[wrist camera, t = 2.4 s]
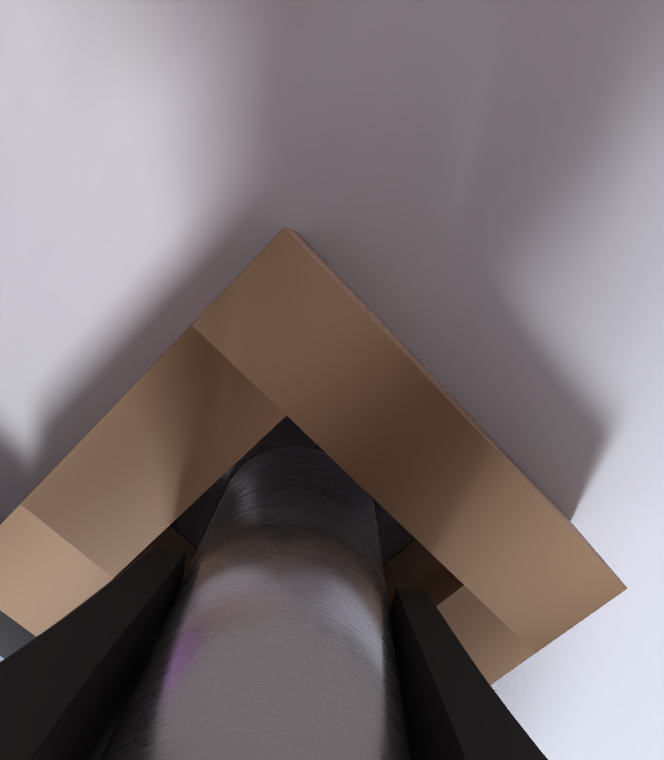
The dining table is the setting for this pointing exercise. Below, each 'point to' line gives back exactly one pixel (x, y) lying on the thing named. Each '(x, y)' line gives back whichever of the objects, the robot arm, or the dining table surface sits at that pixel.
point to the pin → (275, 630)
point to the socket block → (336, 438)
